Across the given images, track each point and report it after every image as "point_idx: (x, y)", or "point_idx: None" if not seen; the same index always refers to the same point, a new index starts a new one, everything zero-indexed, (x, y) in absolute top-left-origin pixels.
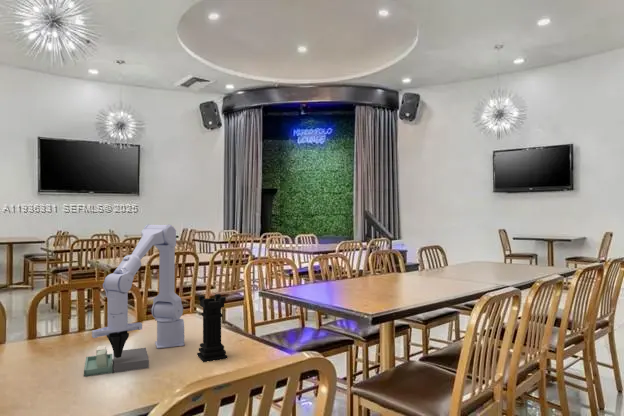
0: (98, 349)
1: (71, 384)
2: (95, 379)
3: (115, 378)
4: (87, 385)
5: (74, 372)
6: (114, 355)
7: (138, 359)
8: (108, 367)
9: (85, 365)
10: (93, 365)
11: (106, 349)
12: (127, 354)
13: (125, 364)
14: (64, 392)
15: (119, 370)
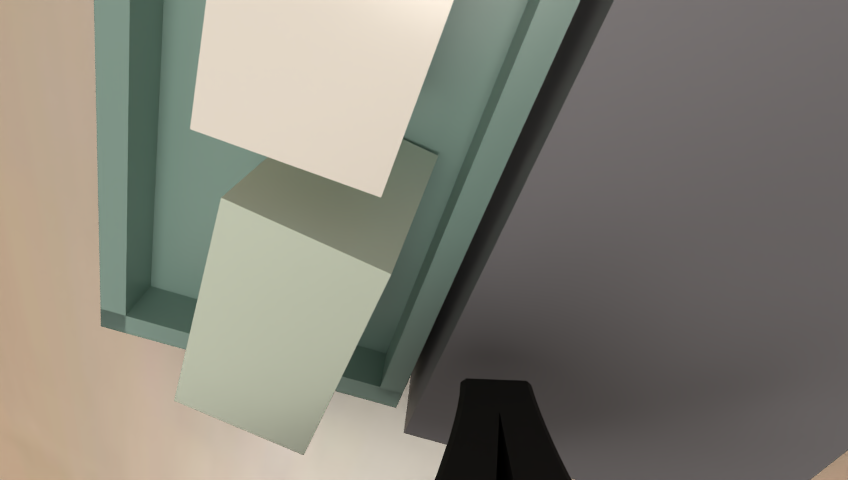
0: (243, 96)
1: (46, 372)
2: None
3: (380, 463)
4: (170, 451)
5: (18, 72)
6: (459, 400)
7: (689, 467)
8: (356, 394)
9: (107, 170)
10: None
11: (383, 283)
12: (752, 222)
13: None
14: (21, 458)
15: None
